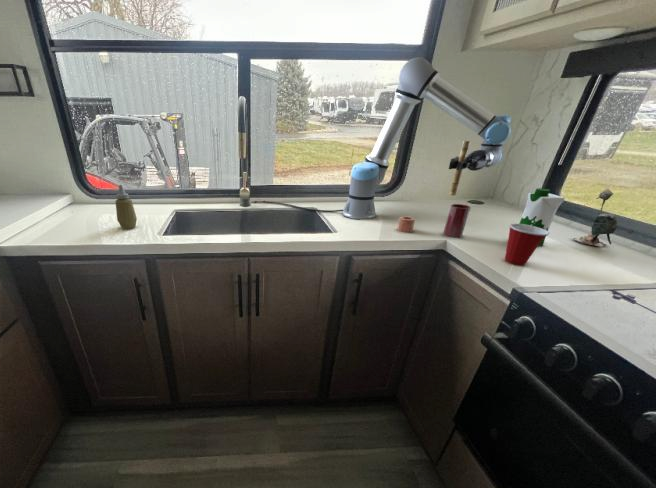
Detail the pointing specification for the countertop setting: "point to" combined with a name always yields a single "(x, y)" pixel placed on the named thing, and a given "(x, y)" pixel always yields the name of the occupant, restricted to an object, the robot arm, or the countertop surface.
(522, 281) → the countertop surface
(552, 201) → the milk carton
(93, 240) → the countertop surface
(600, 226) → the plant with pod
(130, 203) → the squeeze bottle
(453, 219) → the can
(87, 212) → the countertop surface
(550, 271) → the countertop surface
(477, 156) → the robot arm
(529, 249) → the plastic cup
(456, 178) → the straw
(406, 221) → the straw caddy
